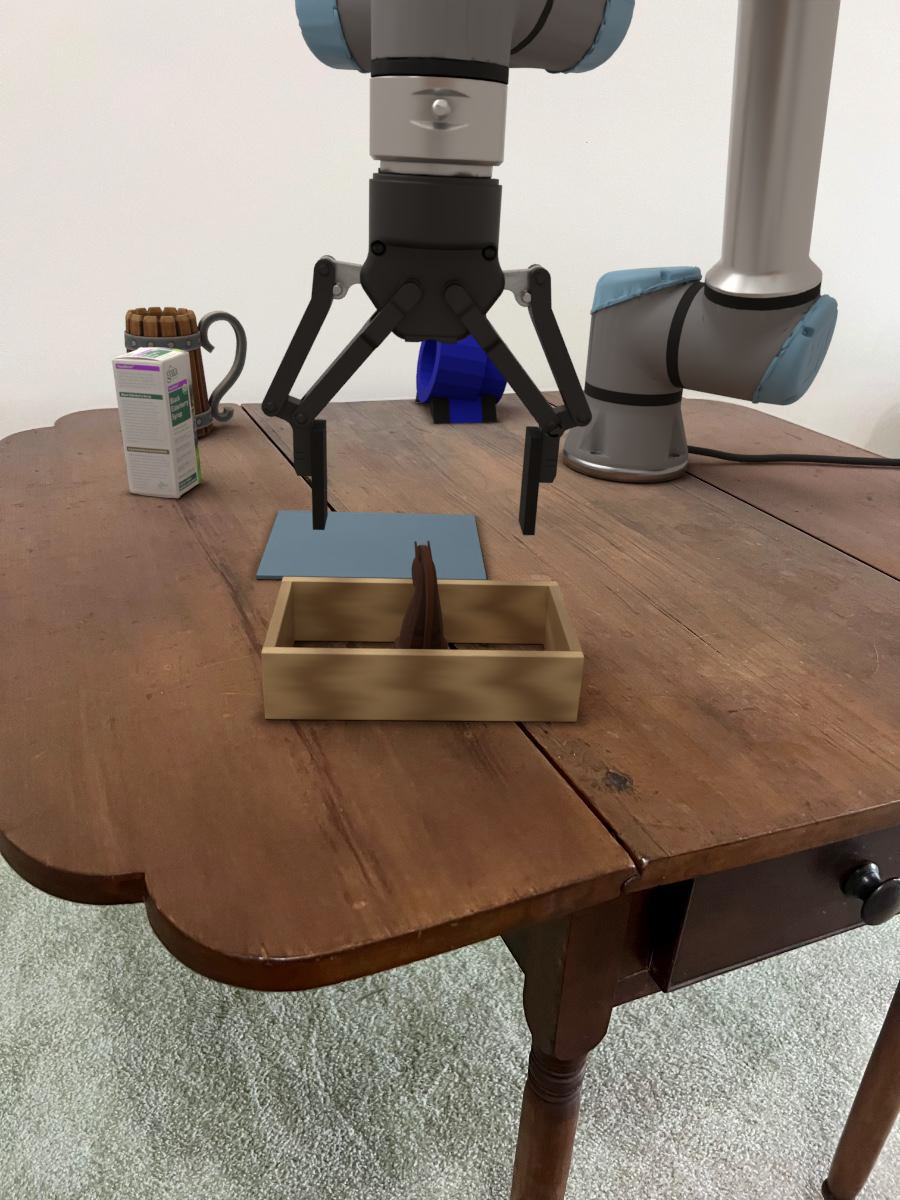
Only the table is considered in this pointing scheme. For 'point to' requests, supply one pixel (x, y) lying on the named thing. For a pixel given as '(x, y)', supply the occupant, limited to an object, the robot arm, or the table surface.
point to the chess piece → (423, 607)
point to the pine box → (421, 653)
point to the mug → (185, 335)
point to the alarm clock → (458, 382)
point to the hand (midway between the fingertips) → (423, 525)
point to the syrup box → (157, 421)
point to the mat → (371, 546)
